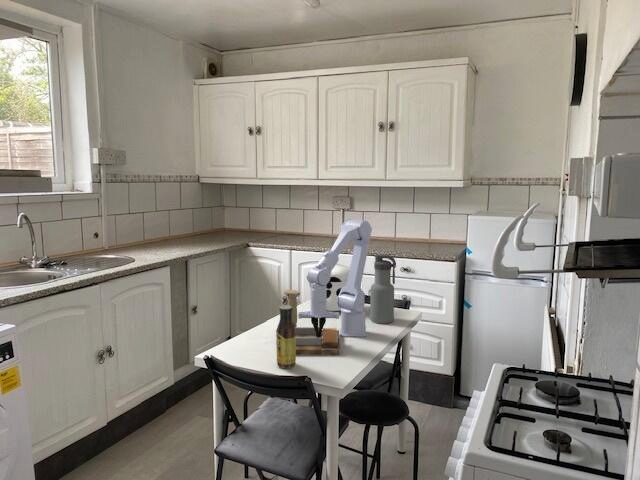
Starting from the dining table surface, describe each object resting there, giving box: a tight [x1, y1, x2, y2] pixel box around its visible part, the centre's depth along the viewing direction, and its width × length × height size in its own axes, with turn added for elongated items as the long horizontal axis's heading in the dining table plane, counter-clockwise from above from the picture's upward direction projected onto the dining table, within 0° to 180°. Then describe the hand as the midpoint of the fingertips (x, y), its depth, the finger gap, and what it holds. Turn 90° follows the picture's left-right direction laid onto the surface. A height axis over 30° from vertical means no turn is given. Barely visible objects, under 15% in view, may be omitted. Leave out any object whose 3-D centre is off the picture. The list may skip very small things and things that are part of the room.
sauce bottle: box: [275, 304, 297, 369], centre depth 154 cm, size 7×6×20 cm
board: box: [296, 329, 341, 356], centre depth 174 cm, size 20×20×2 cm
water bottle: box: [369, 253, 397, 325], centre depth 199 cm, size 10×10×28 cm
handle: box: [283, 289, 301, 327], centre depth 191 cm, size 5×6×15 cm
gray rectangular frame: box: [295, 326, 322, 345], centre depth 174 cm, size 14×12×2 cm
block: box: [322, 327, 338, 342], centre depth 173 cm, size 5×5×4 cm
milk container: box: [326, 266, 354, 313], centre depth 216 cm, size 17×17×18 cm
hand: (318, 337), depth 174 cm, fingers closed
